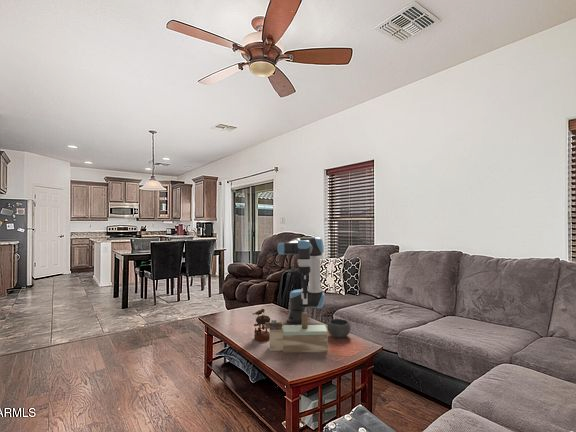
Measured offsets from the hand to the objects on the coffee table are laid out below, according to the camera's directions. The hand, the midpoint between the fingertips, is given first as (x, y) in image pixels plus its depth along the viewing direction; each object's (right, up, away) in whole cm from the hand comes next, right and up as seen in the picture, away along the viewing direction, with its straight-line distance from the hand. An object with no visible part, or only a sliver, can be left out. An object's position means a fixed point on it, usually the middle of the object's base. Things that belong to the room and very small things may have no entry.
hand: (304, 301), depth 193 cm
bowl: (+24, -29, +19) cm, 42 cm away
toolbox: (-4, -28, -1) cm, 28 cm away
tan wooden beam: (-19, -16, -1) cm, 24 cm away
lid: (0, -18, 0) cm, 18 cm away
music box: (-26, -29, +16) cm, 42 cm away
